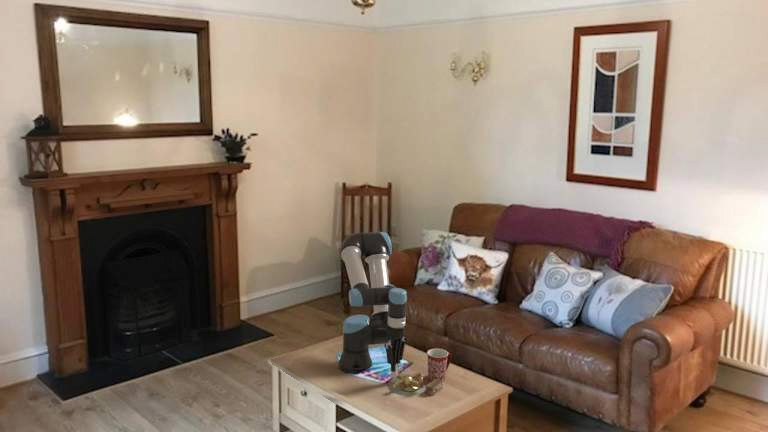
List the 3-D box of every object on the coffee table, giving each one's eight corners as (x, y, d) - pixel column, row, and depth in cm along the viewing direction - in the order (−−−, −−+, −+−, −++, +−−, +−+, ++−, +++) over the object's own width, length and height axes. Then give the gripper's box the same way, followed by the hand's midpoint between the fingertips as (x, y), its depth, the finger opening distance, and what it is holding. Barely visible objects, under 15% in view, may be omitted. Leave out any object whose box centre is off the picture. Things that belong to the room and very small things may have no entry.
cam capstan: (380, 386, 269) (380, 371, 267) (405, 374, 280) (405, 359, 279) (409, 399, 258) (409, 384, 256) (434, 386, 269) (434, 371, 268)
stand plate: (380, 390, 268) (380, 387, 268) (402, 377, 280) (402, 374, 280) (411, 402, 258) (411, 399, 258) (433, 388, 271) (433, 385, 270)
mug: (436, 388, 271) (437, 359, 268) (421, 380, 278) (422, 351, 275) (457, 380, 279) (458, 351, 276) (442, 372, 286) (443, 344, 283)
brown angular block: (425, 396, 264) (425, 385, 263) (436, 389, 270) (436, 378, 269) (434, 400, 261) (434, 388, 260) (444, 392, 267) (445, 381, 266)
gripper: (394, 331, 260) (391, 385, 264) (412, 323, 269) (410, 375, 274) (379, 327, 264) (377, 379, 269) (398, 319, 274) (396, 370, 279)
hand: (394, 377), depth 271 cm, fingers closed
